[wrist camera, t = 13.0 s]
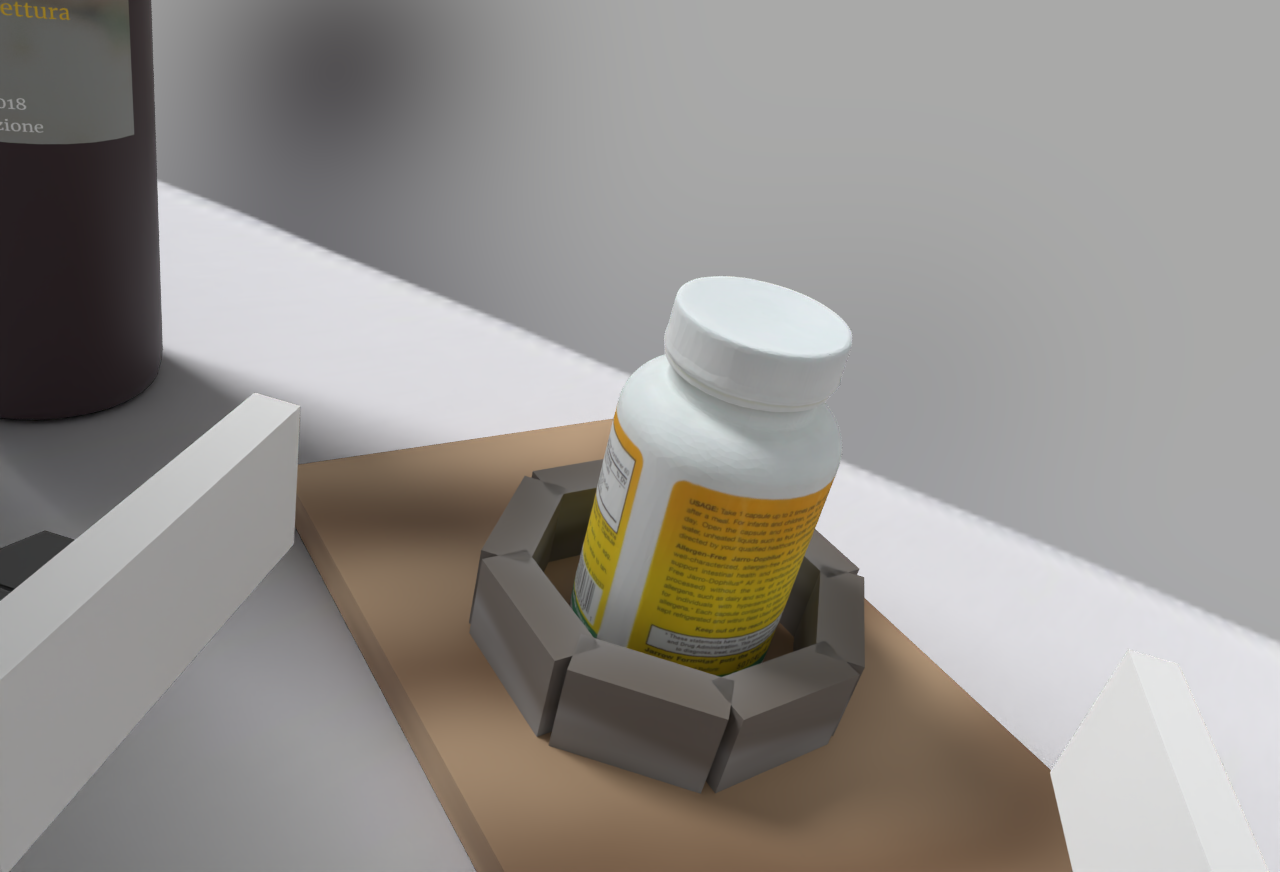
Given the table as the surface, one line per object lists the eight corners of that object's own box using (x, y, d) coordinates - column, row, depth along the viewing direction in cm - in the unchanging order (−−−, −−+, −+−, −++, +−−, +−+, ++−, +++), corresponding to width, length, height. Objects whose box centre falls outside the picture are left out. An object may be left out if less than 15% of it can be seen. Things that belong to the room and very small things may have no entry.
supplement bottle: (524, 621, 26) (592, 282, 21) (651, 547, 29) (733, 248, 25) (684, 748, 23) (804, 396, 18) (799, 648, 27) (923, 337, 22)
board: (280, 499, 29) (284, 396, 28) (655, 438, 37) (677, 355, 36) (641, 1184, 16) (693, 1074, 15) (1099, 866, 24) (1169, 769, 23)
